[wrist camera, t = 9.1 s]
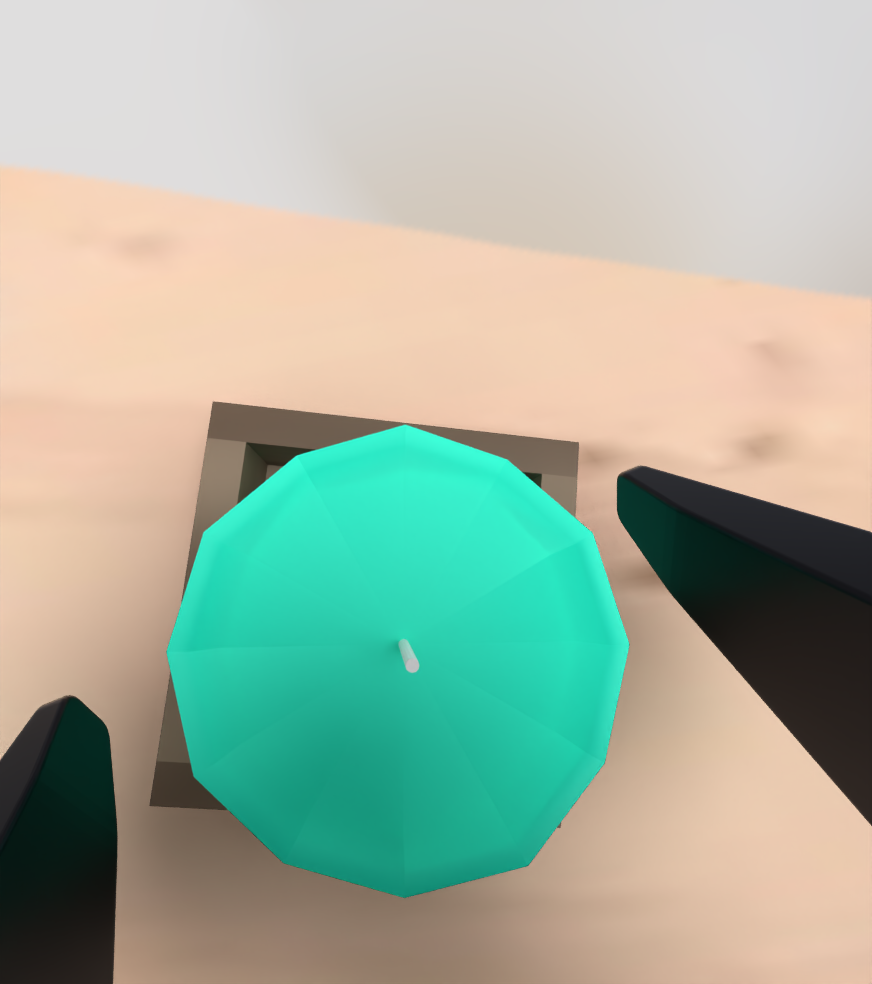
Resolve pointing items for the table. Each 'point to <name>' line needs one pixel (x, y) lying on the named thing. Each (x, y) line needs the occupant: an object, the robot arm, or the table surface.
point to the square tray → (260, 454)
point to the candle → (398, 662)
